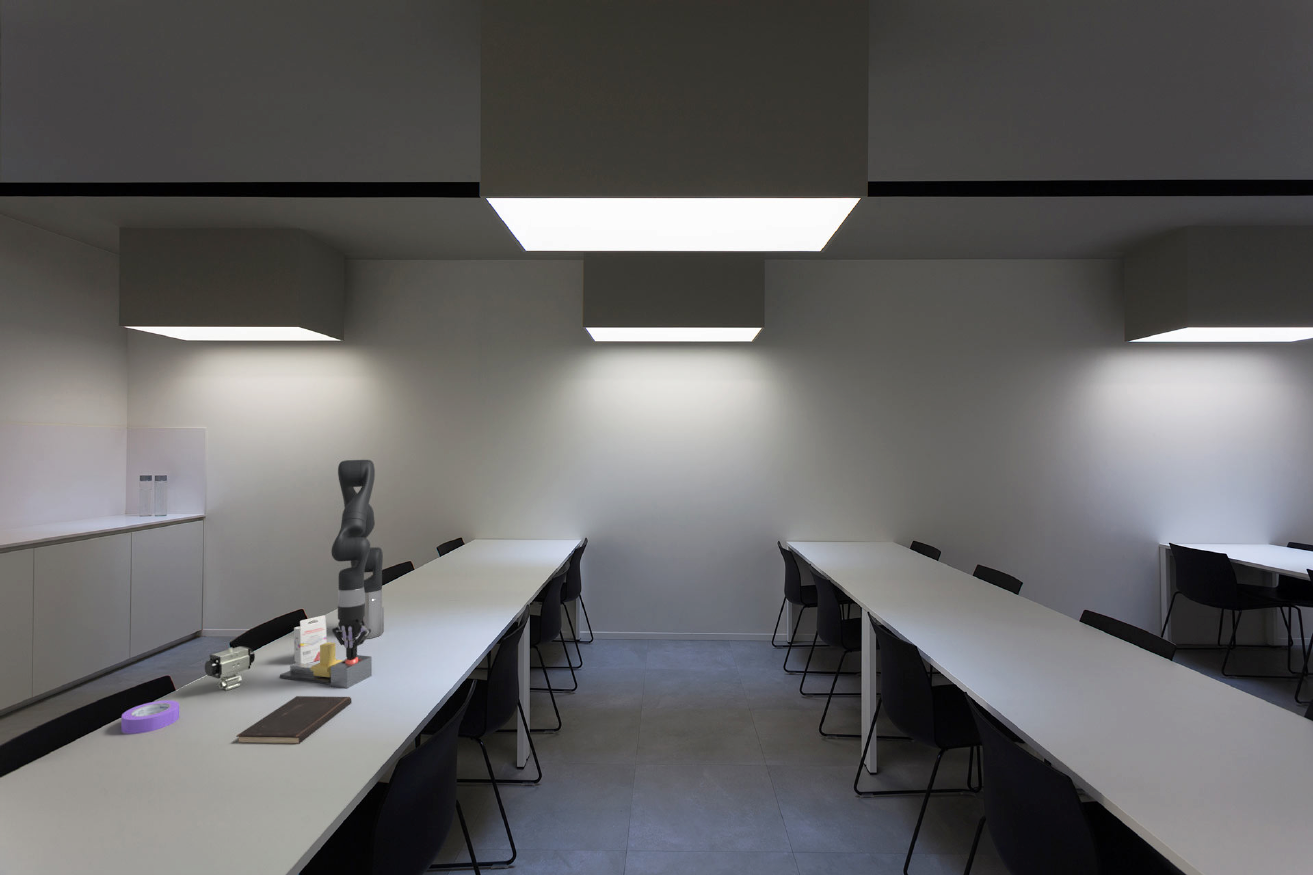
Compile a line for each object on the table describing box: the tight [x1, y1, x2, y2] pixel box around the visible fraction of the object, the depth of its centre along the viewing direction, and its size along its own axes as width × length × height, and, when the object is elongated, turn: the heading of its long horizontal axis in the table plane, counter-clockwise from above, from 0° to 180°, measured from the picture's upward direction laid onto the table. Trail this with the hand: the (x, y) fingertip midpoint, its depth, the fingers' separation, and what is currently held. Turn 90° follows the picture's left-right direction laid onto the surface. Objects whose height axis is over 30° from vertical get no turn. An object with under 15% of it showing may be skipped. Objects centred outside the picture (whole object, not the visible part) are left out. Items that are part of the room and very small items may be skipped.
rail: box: [279, 662, 331, 685], centre depth 191 cm, size 8×19×3 cm, turn 74°
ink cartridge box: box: [293, 614, 327, 664], centre depth 205 cm, size 9×5×15 cm, turn 143°
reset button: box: [344, 657, 358, 664], centre depth 187 cm, size 4×4×5 cm
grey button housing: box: [330, 654, 373, 689], centre depth 187 cm, size 10×6×6 cm, turn 164°
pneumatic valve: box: [204, 645, 256, 691], centre depth 182 cm, size 6×12×12 cm, turn 152°
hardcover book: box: [236, 695, 352, 745], centre depth 160 cm, size 16×23×2 cm
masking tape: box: [121, 699, 180, 735], centre depth 159 cm, size 12×12×4 cm
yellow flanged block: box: [311, 641, 344, 677], centre depth 189 cm, size 7×6×9 cm
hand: (351, 658), depth 187 cm, fingers closed
